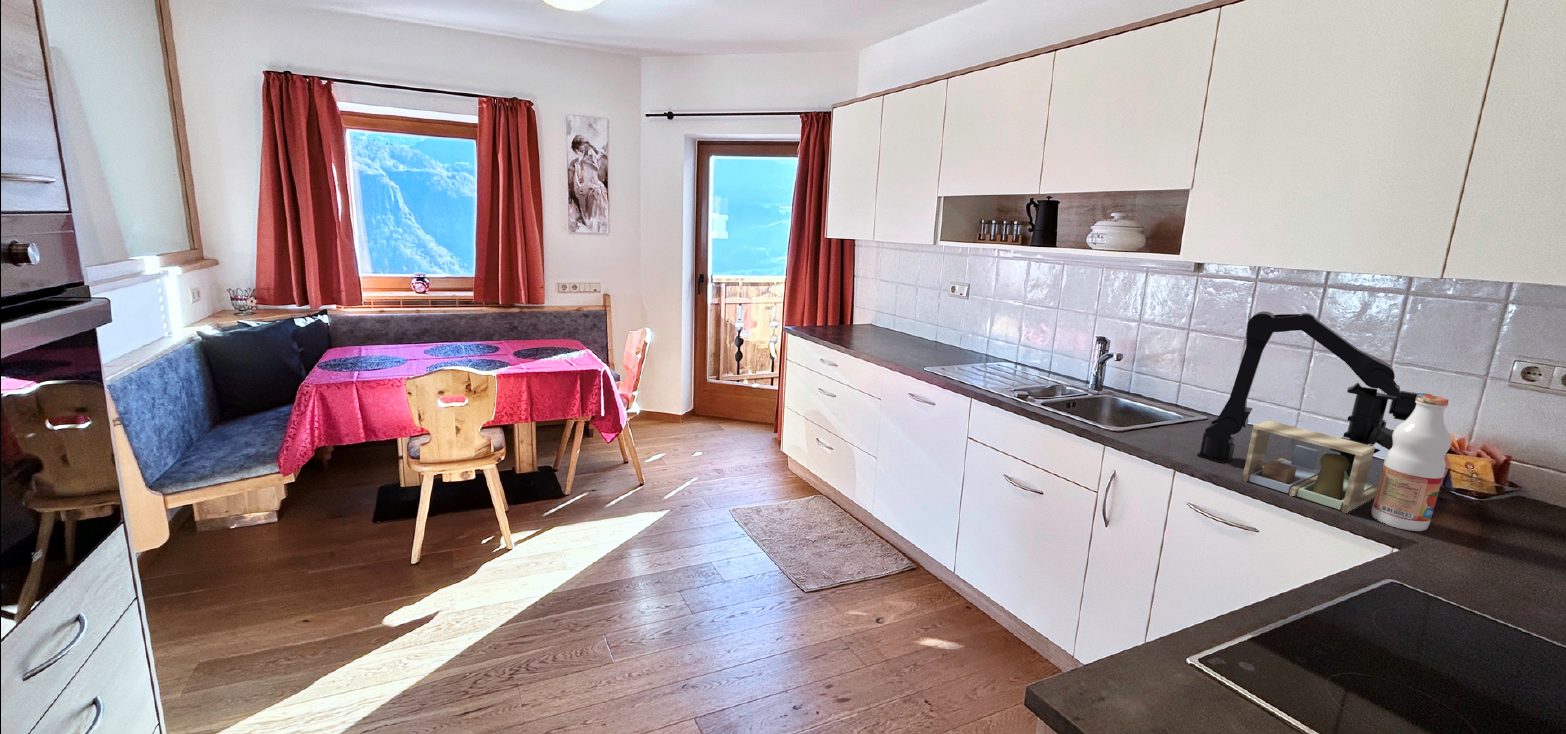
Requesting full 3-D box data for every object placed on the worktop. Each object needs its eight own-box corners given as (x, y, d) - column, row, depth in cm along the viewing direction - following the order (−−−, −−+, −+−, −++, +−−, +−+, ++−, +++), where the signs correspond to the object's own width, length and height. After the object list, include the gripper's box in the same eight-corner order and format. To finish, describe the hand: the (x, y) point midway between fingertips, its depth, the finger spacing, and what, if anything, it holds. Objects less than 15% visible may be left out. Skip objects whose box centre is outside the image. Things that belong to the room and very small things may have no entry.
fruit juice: (1363, 509, 153) (1394, 388, 147) (1416, 518, 150) (1450, 395, 143) (1379, 526, 145) (1413, 399, 138) (1436, 536, 141) (1474, 406, 135)
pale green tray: (1297, 496, 158) (1303, 469, 157) (1330, 480, 169) (1336, 454, 168) (1339, 509, 152) (1346, 482, 150) (1371, 492, 162) (1378, 466, 161)
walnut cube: (1259, 483, 166) (1264, 464, 165) (1268, 479, 169) (1273, 460, 168) (1283, 490, 162) (1287, 471, 161) (1292, 486, 165) (1296, 467, 164)
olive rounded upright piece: (1311, 501, 156) (1322, 456, 154) (1306, 492, 161) (1317, 448, 159) (1345, 508, 153) (1356, 462, 151) (1338, 498, 159) (1349, 453, 156)
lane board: (1241, 480, 167) (1253, 424, 164) (1279, 465, 179) (1291, 412, 176) (1346, 514, 150) (1362, 452, 147) (1380, 494, 162) (1395, 437, 159)
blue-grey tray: (1249, 481, 166) (1254, 455, 165) (1283, 466, 177) (1289, 442, 175) (1287, 493, 159) (1293, 466, 158) (1321, 477, 170) (1327, 452, 169)
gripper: (1398, 429, 149) (1380, 496, 153) (1424, 418, 160) (1407, 480, 163) (1336, 416, 158) (1321, 478, 162) (1365, 405, 169) (1350, 465, 172)
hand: (1352, 476), depth 165 cm, fingers closed on pale green tray, 2 cm apart
